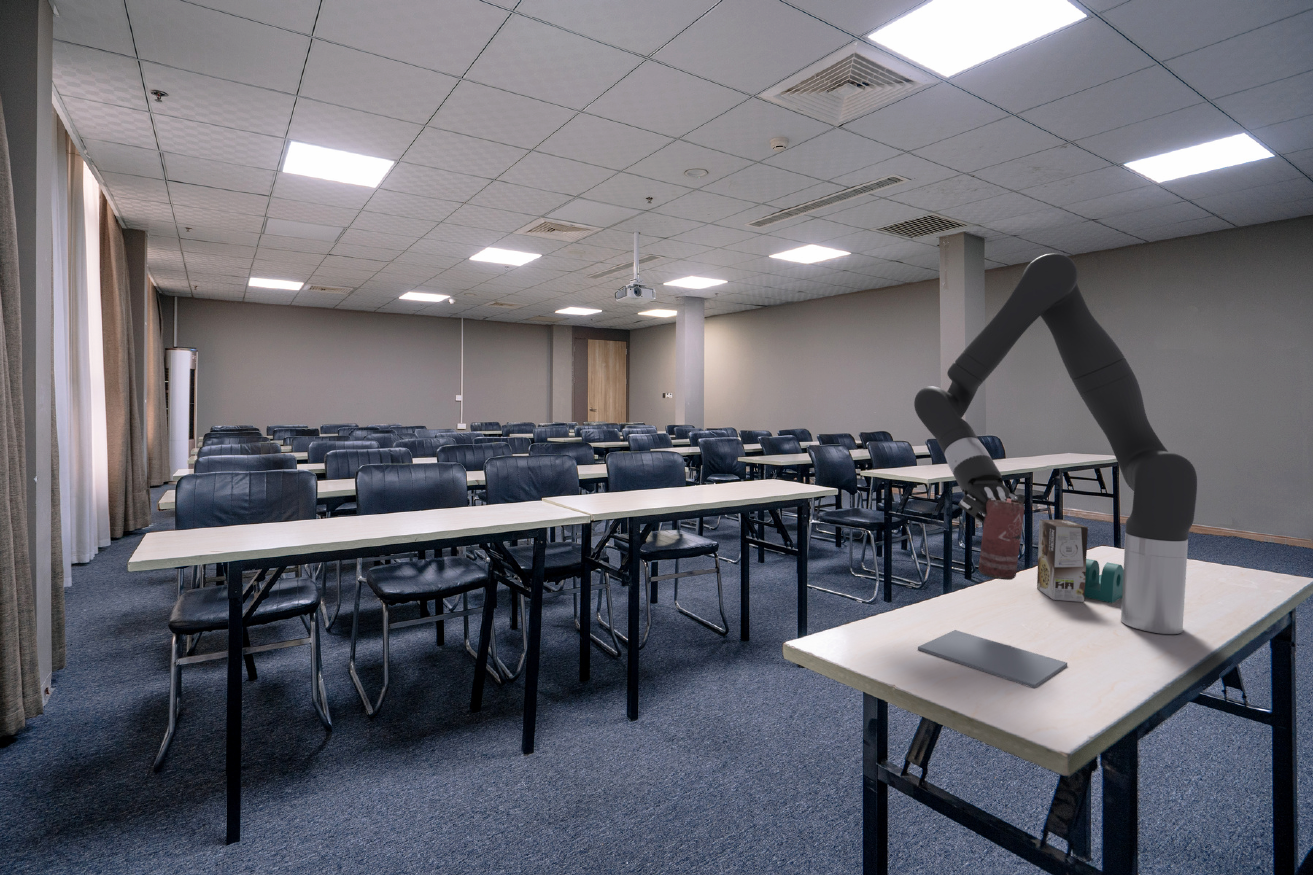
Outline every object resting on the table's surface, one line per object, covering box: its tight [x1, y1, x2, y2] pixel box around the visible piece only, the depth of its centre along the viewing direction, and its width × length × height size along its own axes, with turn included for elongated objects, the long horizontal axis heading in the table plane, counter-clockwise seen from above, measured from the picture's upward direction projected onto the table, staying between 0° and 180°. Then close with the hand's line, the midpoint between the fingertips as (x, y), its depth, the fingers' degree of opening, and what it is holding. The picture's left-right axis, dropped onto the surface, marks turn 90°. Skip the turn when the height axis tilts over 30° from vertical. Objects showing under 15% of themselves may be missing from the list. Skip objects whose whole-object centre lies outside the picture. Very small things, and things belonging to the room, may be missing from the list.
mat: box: [917, 629, 1068, 689], centre depth 103 cm, size 13×18×1 cm
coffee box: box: [1036, 519, 1089, 603], centre depth 137 cm, size 9×6×16 cm
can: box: [977, 498, 1025, 581], centre depth 114 cm, size 6×6×14 cm
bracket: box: [1084, 558, 1124, 604], centre depth 140 cm, size 18×7×8 cm, turn 128°
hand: (1014, 541), depth 112 cm, fingers closed
